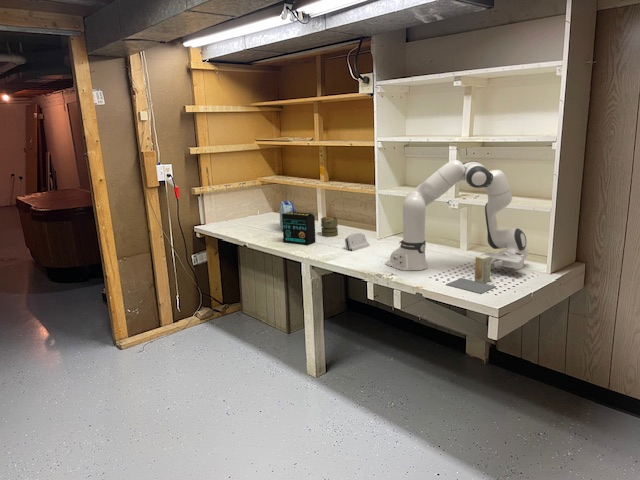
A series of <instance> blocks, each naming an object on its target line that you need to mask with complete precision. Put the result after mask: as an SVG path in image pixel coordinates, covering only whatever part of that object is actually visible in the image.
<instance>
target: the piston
mask: <svg viewBox="0 0 640 480" xmlns="http://www.w3.org/2000/svg"><path fill="white" fill-rule="evenodd" d="M320 223H321V225H320V227H321V228H320V229H321V237H325V238H332V237H333V238H334V237H338V236H339V233H338V232H339V230H338V229H339V228H338V225H339V223H338V216H337V217H336V216H334V217H333V219H327V217H326V216H323V217H320Z"/></svg>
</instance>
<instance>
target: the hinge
mask: <svg viewBox="0 0 640 480" xmlns="http://www.w3.org/2000/svg"><path fill="white" fill-rule="evenodd" d="M344 243H345V249H346V251H349V250H351V252H355V251H358V250H362V249H366V248H369V247H371V246H370V243H369V242H368V241H367V238H366V235H365V233H361V232H360V233H359V232H357V233H353V234H350V235H348V236H347V237H346V238H345V239H344ZM368 246H369V247H368Z"/></svg>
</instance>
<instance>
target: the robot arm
mask: <svg viewBox="0 0 640 480" xmlns="http://www.w3.org/2000/svg"><path fill="white" fill-rule="evenodd" d="M461 181H465V182H466V184H467V185H468V186H470V187H471V188H475V189H476V188H477V189H479V188H484V189H485V191H486V195H487V202H486V203H485V205H484V213H485V214H484V215H485V223H486V229H487V243H488V245H489V247H491V248H492V249H494V250H499V249H502V250H500V251H499V252H498V253H494V252H484V253H482V254H480V255H488V256H491V266H495V267H497V266H501V267H504V268H511V269H514V270H519V269H523V268H524V265H525V260H526V259H527V257H528V256H529V249H528V247H527V237H526V234H525V233H524V232H523V230H522V229H520V228H507V229H500V228H498V223H497V222H498V221H497V213H498V212H501V211H502V210H504V209H506V208H507V207H508V206H509V205H510V204H511V202H512V200H513V193H512V190H511V186H510V183H509V181H508V178H507V176H506V175H505V173H504V171H502V170H500V169H493V170H488V168H486V166H485V165H484V164H482V163H481V162H480V161H477V160H471V161H465V162H462V161H460V160H458V159H452V160H449V161H448V162H446V163H444V165H442V166H441V167H440V168H439V169H437V170H436V171H435V172H433V174H431V175H430V176H428V178H427V179H425V180H424V181H423V182H421V183H420V184H419V185H418V186H416V187H415V188H414V189H412V190H411V191H410V192H409V193H408V194H406V195H405V197H404V200H403V205H402V219H403V220H402V224H403V225H402V227H403V229H402V240H400V241H399V242H398V244H400V246H399V247H398V248H396V249H394V250H393V251H392V252H391V253H390V256H389V260H387V261H386V262H385V265H387V266H388V265H389V267H391V266H392V268H394V269H398V270H399V271H403V272H404V271H421V270H422V271H423V270H426V269H427V268H428V263H427V260H426V239H425V238H426V207H428V206H429V205H431V204H432V203H433V202H435V200H438V199H439V198H440V197H441V196H443V195H444V194H445V193H447V192H448V191H449V190H450V189H451V188H452V187H454V186H455V185H456V184H457V183H459V182H461Z"/></svg>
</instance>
